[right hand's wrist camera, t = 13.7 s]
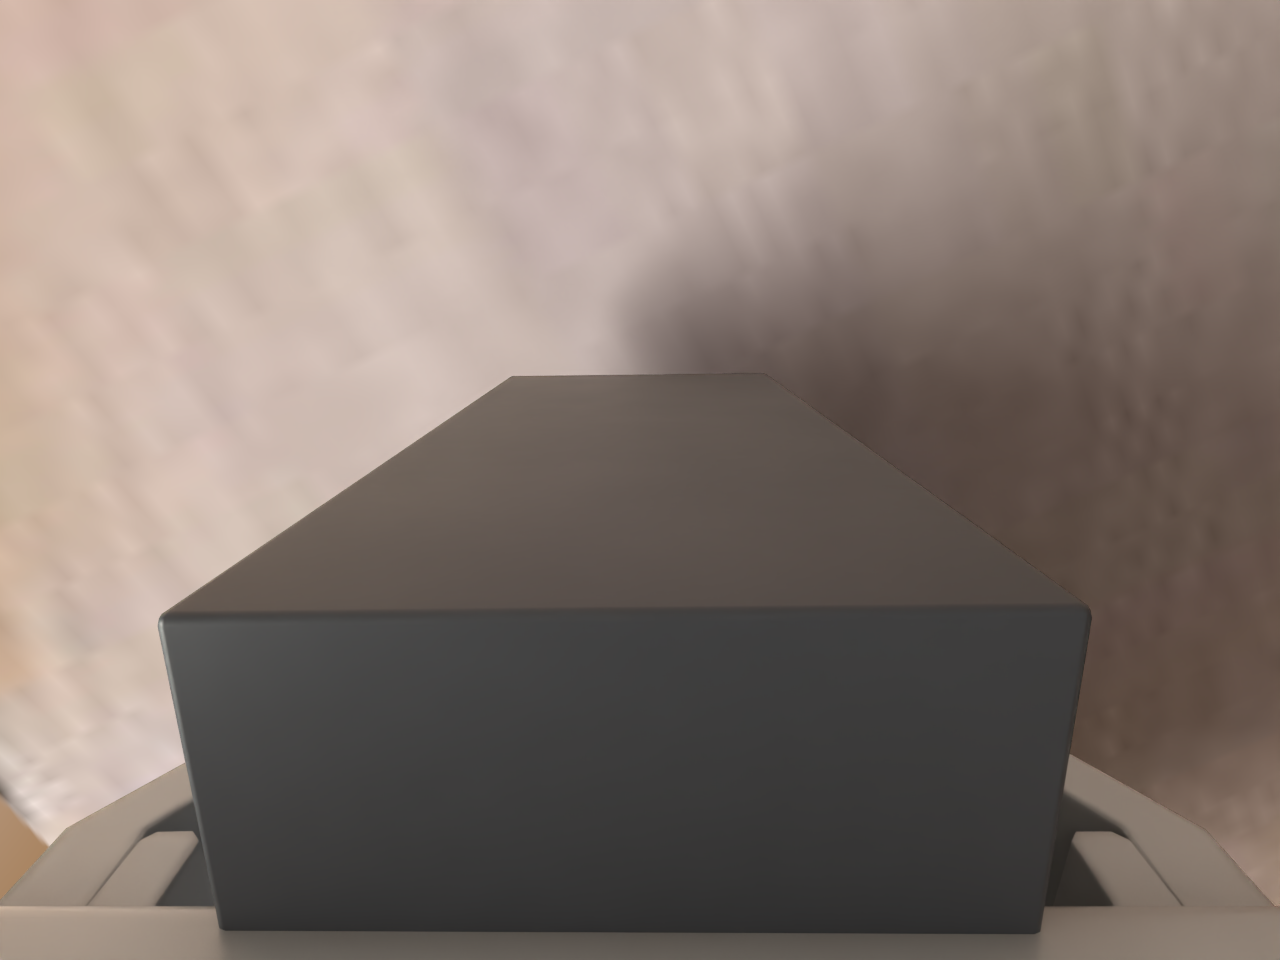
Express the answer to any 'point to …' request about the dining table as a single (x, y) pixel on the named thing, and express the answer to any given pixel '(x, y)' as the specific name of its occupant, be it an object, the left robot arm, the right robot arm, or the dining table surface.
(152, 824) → the right robot arm
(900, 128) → the dining table surface
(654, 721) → the box
